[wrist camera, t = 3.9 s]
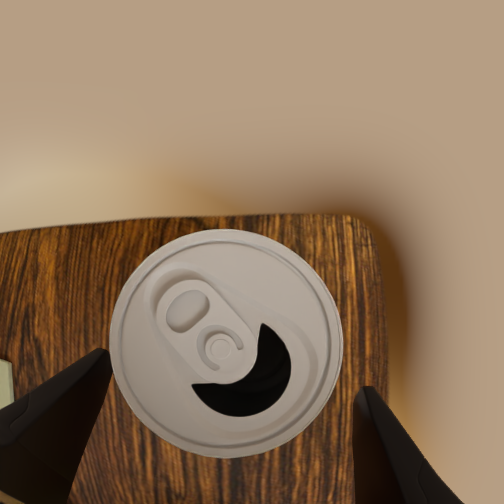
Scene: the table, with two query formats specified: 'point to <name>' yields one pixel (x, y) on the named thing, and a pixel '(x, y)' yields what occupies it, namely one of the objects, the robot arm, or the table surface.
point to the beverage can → (225, 343)
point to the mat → (6, 384)
